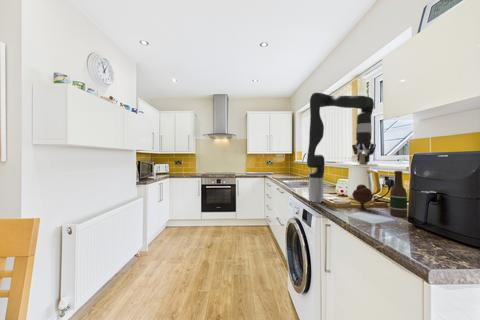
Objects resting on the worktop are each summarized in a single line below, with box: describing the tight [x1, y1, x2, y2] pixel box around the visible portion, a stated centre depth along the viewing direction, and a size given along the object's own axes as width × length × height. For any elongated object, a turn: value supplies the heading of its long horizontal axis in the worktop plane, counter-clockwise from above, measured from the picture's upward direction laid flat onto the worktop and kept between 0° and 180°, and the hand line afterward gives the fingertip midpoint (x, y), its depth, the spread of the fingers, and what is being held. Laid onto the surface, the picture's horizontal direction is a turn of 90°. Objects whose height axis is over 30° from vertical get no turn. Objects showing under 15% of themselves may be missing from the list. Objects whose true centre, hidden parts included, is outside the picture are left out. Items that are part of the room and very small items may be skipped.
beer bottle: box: [389, 170, 408, 219], centre depth 115 cm, size 8×8×24 cm
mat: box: [342, 211, 396, 225], centre depth 112 cm, size 18×16×1 cm
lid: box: [349, 153, 379, 167], centre depth 125 cm, size 14×14×7 cm
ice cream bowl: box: [352, 183, 374, 211], centre depth 130 cm, size 11×11×15 cm
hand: (363, 162), depth 125 cm, fingers closed on lid, 4 cm apart
